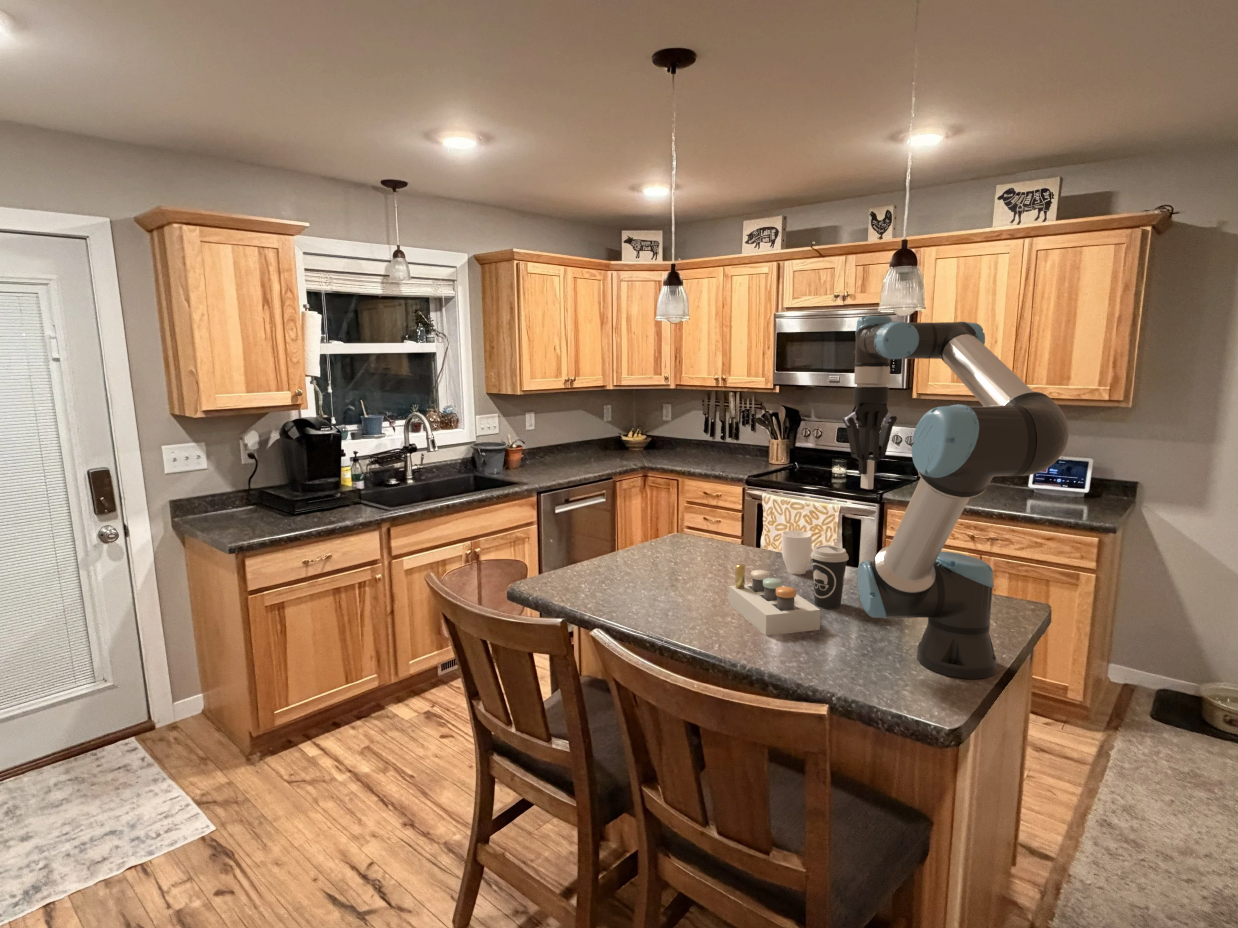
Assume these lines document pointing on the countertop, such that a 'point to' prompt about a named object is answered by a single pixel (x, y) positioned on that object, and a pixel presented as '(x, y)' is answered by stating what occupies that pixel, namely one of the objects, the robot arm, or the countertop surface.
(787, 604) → the knob
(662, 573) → the countertop surface
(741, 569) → the cylinder
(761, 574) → the knob
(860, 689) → the countertop surface
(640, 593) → the countertop surface
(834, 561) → the coffee cup
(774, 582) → the knob
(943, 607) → the robot arm
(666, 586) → the countertop surface
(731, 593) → the panel
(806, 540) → the mug
